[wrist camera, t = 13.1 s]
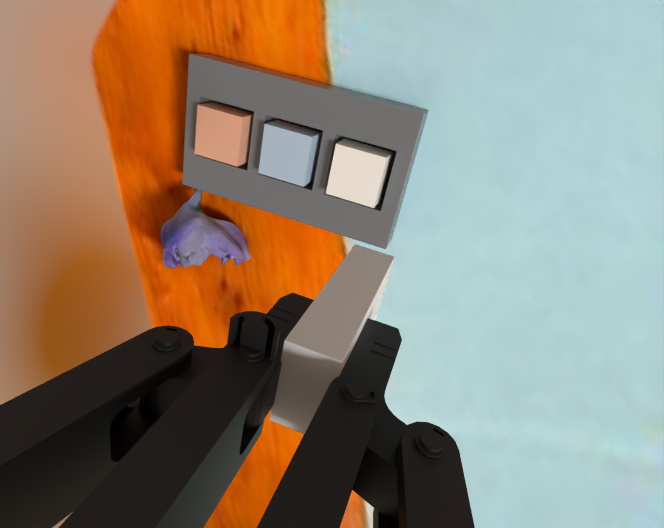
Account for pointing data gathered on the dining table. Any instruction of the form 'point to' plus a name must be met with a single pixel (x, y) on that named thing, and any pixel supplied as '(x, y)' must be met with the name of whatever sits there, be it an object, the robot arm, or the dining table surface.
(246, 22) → the dining table surface
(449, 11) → the dining table surface
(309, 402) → the robot arm
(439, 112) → the dining table surface
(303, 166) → the blue key
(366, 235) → the console
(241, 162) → the terracotta key
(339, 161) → the ivory key
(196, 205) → the flower
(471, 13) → the dining table surface
